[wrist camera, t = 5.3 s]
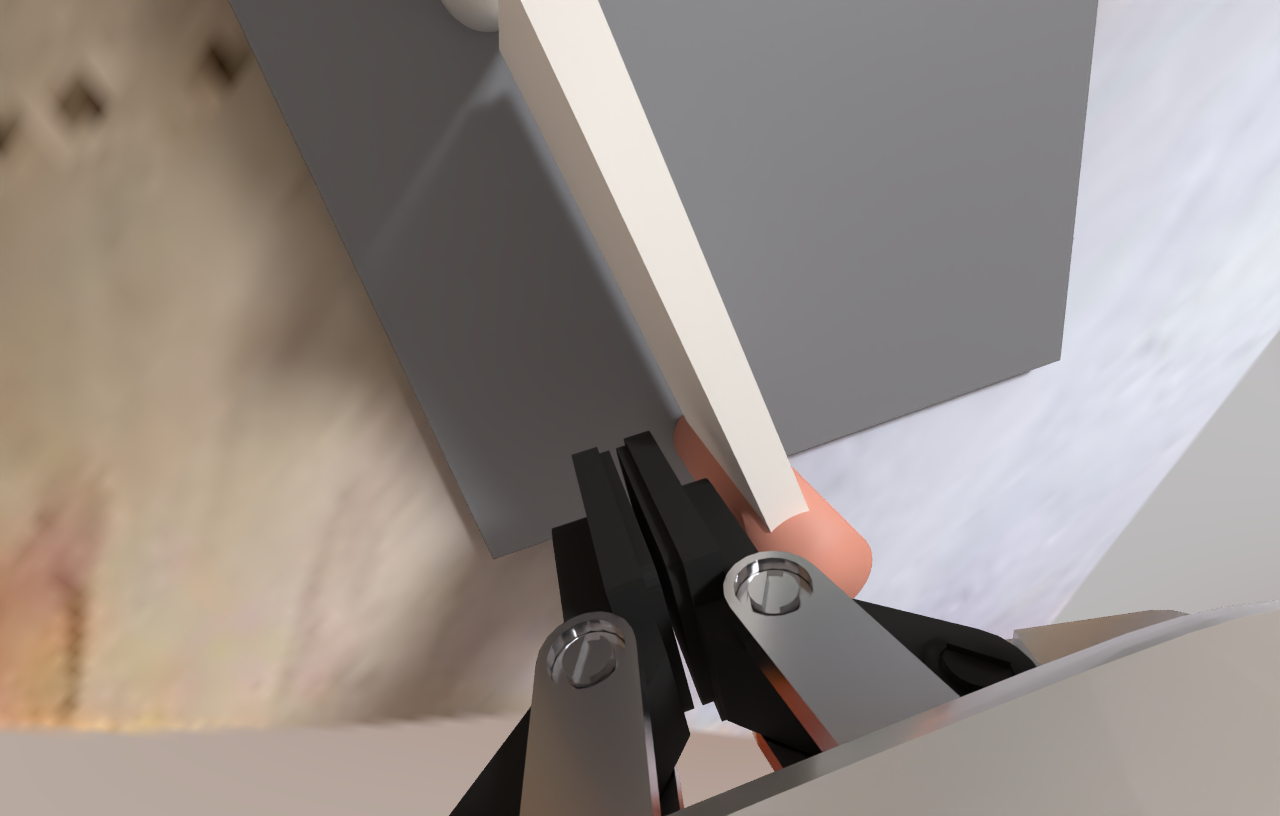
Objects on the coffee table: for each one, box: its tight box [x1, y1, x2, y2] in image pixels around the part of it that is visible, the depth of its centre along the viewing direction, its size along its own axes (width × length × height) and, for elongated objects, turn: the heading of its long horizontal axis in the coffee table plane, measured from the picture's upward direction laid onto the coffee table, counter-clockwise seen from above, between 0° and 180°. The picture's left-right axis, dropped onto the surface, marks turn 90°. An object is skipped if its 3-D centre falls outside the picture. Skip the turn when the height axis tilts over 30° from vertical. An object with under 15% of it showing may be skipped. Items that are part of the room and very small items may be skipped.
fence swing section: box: [498, 0, 872, 599], centre depth 10 cm, size 11×2×6 cm, turn 27°
